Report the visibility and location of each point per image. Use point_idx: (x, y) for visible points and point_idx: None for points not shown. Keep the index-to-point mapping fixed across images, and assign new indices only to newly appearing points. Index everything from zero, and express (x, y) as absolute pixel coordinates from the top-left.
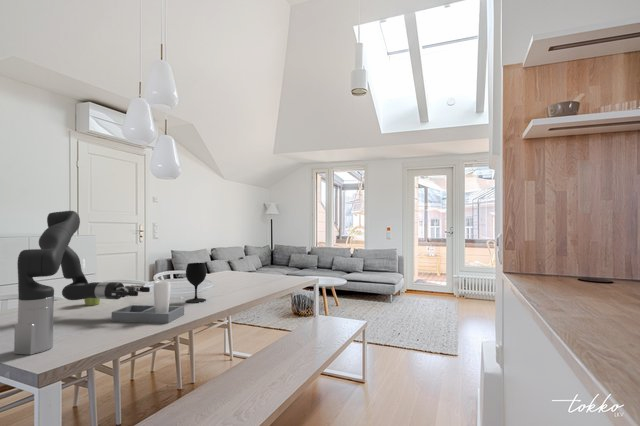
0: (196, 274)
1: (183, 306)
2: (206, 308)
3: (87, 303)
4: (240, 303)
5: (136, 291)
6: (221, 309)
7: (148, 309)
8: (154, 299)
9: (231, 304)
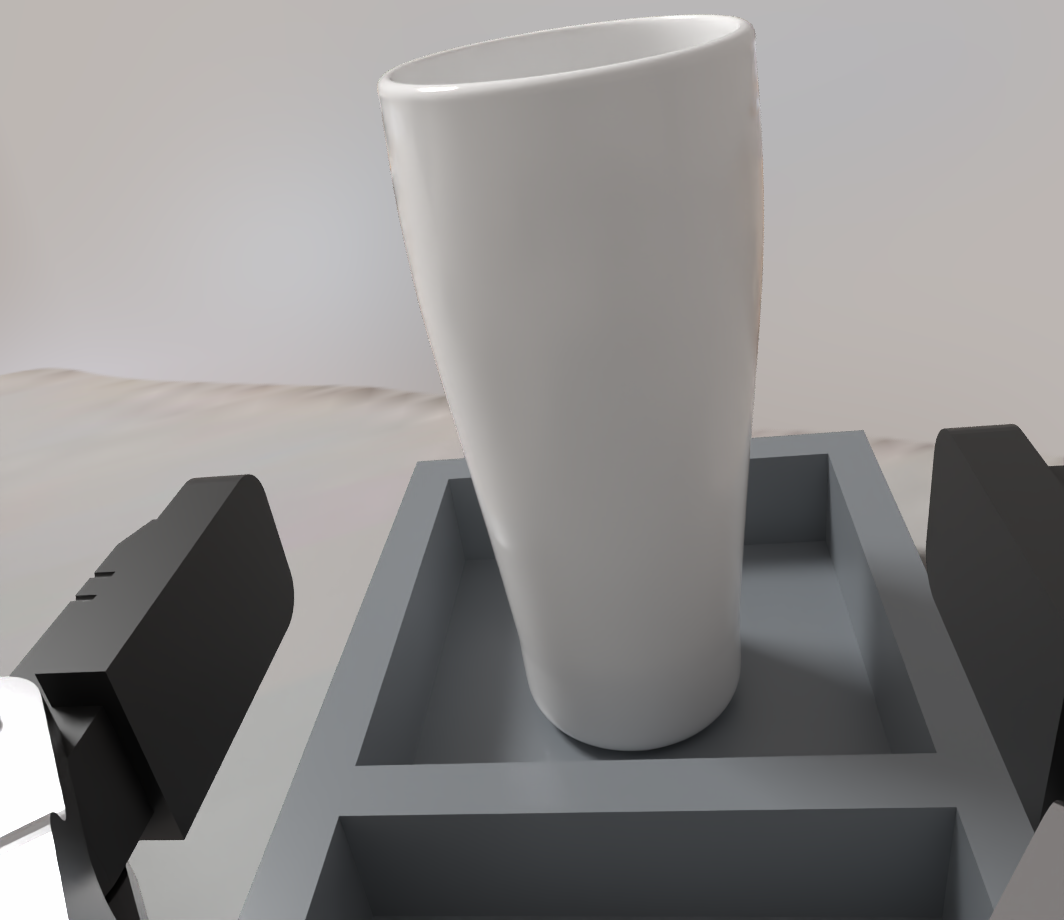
0: None
1: (430, 462)
2: (171, 497)
3: None
4: (68, 381)
5: (1012, 434)
6: (264, 405)
7: (667, 780)
8: (718, 455)
9: (76, 410)
